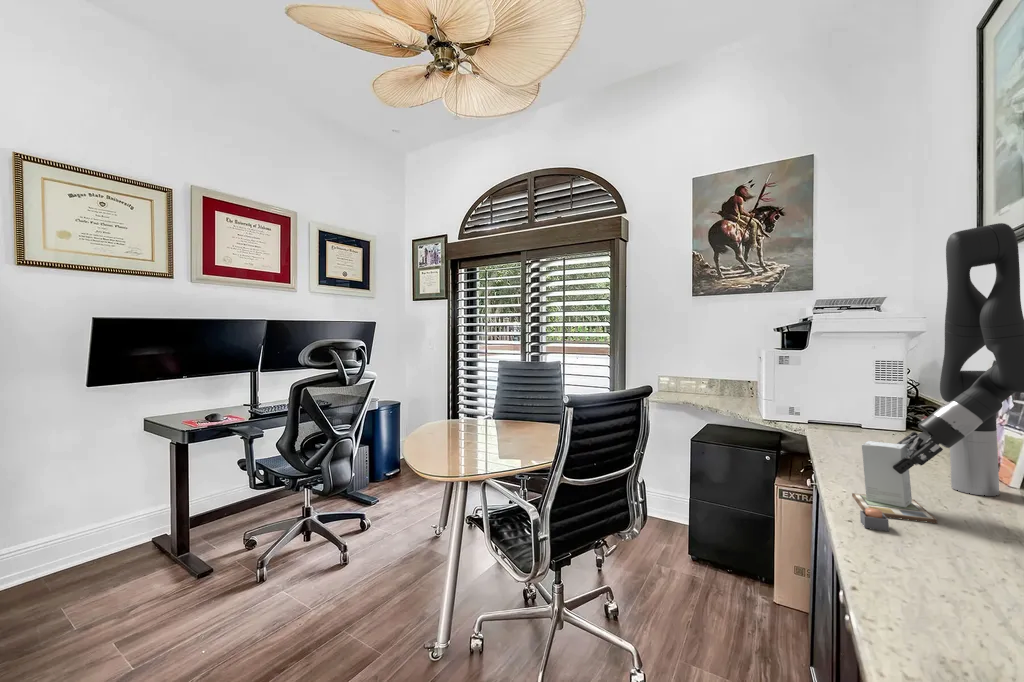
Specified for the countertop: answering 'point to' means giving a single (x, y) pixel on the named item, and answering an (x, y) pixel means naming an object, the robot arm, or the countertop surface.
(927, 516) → the picture board
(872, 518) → the button housing
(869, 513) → the button
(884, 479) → the skincare box
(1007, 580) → the countertop surface
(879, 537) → the countertop surface
